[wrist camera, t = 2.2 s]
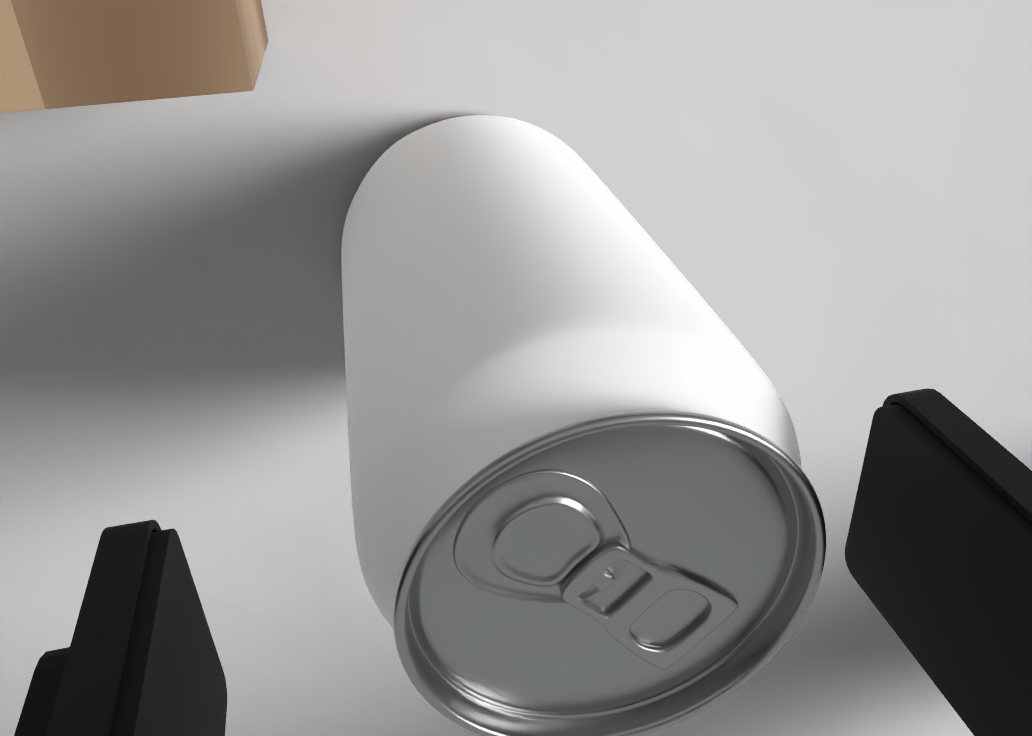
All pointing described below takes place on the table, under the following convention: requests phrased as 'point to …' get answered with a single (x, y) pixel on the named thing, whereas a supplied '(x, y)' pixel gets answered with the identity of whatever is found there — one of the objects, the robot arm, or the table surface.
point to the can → (558, 448)
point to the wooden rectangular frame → (126, 50)
